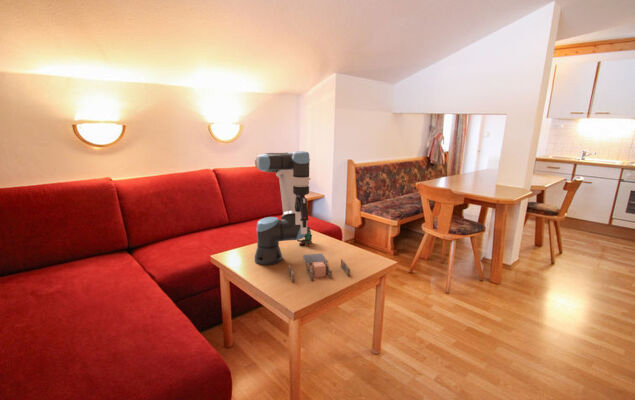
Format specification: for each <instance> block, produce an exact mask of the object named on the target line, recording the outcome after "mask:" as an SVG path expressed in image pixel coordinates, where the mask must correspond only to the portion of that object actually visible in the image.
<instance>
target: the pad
mask: <svg viewBox="0 0 635 400" xmlns="http://www.w3.org/2000/svg"><path fill="white" fill-rule="evenodd" d="M302 257H303V260H304V261H305V263H306V265H307V263H309V265H310V266H312V262H323V263H324V261H326V263H327V264H328V261H327V259H326V258H325V256H324V254H323V253H313V254H303V256H302Z"/></svg>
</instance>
